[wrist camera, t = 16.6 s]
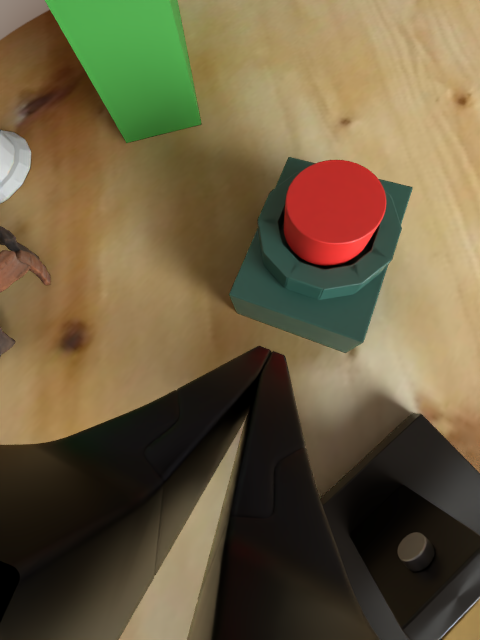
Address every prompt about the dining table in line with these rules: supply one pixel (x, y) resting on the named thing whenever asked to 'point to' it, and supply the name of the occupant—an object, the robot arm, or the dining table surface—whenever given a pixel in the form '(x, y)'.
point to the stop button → (332, 211)
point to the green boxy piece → (315, 274)
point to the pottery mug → (16, 271)
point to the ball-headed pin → (12, 163)
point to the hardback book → (133, 61)
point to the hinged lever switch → (410, 533)
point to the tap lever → (466, 626)
